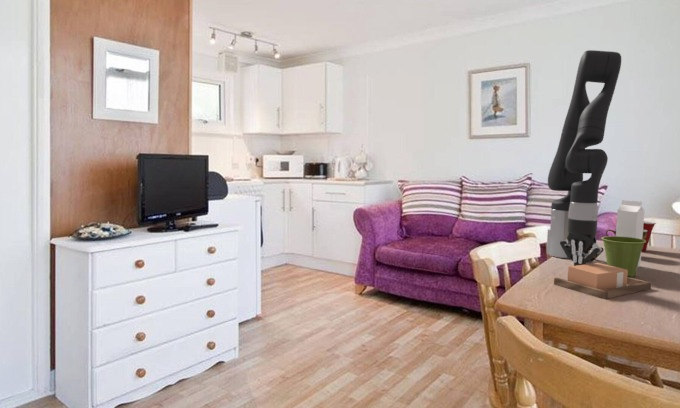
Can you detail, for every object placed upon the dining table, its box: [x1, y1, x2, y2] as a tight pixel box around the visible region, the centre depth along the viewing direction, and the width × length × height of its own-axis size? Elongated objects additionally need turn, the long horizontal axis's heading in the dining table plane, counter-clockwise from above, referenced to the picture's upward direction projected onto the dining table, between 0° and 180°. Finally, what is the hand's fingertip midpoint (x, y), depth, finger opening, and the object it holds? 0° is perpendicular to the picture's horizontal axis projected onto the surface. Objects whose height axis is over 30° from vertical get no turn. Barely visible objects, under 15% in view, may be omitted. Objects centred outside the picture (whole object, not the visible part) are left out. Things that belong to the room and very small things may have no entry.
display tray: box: [553, 276, 652, 300], centre depth 129 cm, size 15×20×2 cm
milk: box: [615, 199, 645, 268], centre depth 152 cm, size 6×6×22 cm
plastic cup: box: [641, 220, 657, 252], centre depth 179 cm, size 11×11×12 cm
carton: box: [567, 262, 629, 290], centre depth 128 cm, size 9×12×6 cm
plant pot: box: [600, 235, 646, 278], centre depth 142 cm, size 12×12×11 cm
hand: (579, 275), depth 135 cm, fingers closed
